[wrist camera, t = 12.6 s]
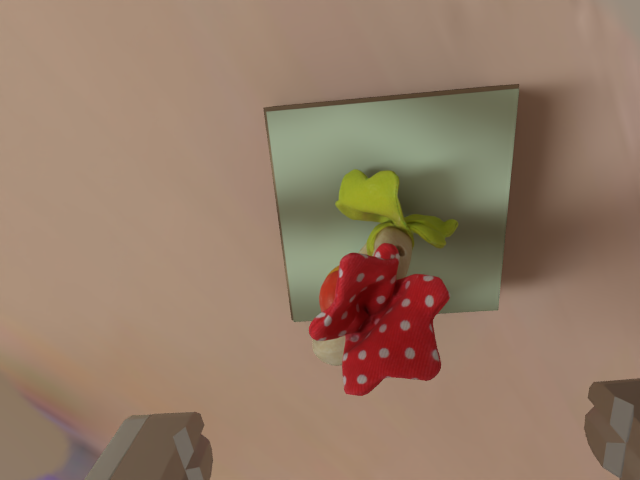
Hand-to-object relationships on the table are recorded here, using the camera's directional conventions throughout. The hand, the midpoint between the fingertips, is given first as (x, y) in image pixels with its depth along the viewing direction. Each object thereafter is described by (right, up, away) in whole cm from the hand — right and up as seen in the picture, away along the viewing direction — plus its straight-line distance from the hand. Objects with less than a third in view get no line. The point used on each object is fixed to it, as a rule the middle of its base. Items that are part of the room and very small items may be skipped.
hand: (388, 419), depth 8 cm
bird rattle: (+1, +4, +14) cm, 14 cm away
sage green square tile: (+3, +6, +17) cm, 18 cm away
